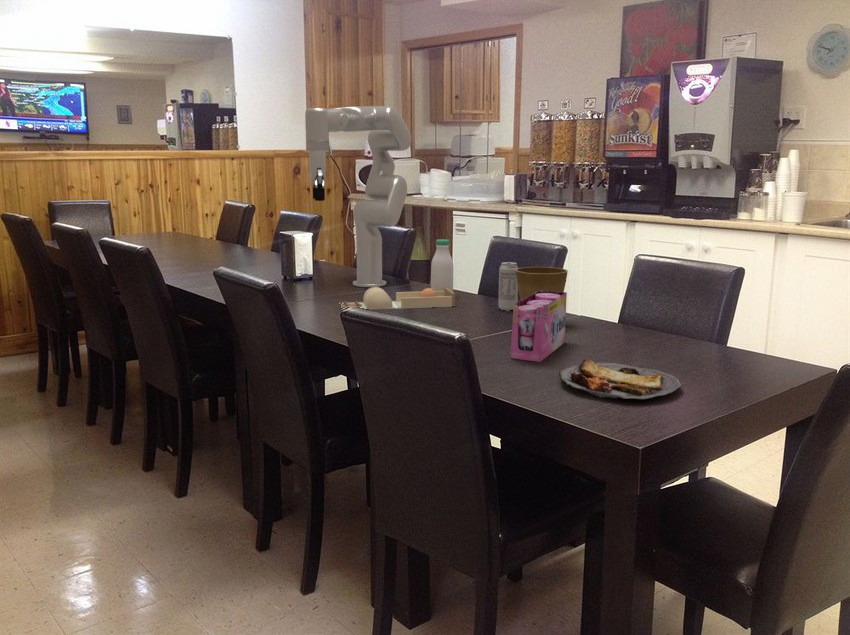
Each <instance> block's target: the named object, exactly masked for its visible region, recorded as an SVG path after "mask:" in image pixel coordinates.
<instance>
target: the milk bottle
mask: <svg viewBox="0 0 850 635" xmlns="http://www.w3.org/2000/svg"><path fill="white" fill-rule="evenodd" d="M435 247H436V248H435V252H434V255H433V257H432V259H431V264H430V265H431V266H430V288H431V289H433V290H434V291H444V288H448V289H450V290H451V291H452V292H454V262H453V258H452V256H451V254H450V250H449V247H450V240H449V239H444V238H443V239H442V238H441V239H440V238H439V239H435Z"/></svg>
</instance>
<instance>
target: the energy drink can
mask: <svg viewBox="0 0 850 635" xmlns="http://www.w3.org/2000/svg"><path fill="white" fill-rule="evenodd" d="M517 264H518V263H517V262H515V261H514V262H512V261H505V262H501V264H500V266H499V270H498V272H499V274H498V277H499V278H498V306H497V307H498V308H499V310H500V309H501V310H500V311H502V310H506V311H505V312H511V311H510V310H513V309H514V304H515V303H517V302H518V301H519V298H518V296H519V290H518V284H517V277H516V269H518V268H519V266H518V265H517Z"/></svg>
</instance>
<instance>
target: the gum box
mask: <svg viewBox="0 0 850 635" xmlns="http://www.w3.org/2000/svg"><path fill="white" fill-rule="evenodd" d="M567 295H568V292H565V291H564V292H556V291H543V290H539V291H537V292H535V293H533V294H532V295H530V296H528V297H526V298H524V299H522V300H518V302H517V303H515V304H514V309H513V311H512V328H511V343H510V345H511V346H510V359H515V360H521V361H530V362H538V363H541V362H542V361H543V360H545V359H546V358H547V357H549V355H552V353H553V352H555V351H556V350H558V348H560V347H561V346H562V345H563V344H565V342H566V320H567V318H566V315H567Z"/></svg>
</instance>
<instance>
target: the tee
mask: <svg viewBox="0 0 850 635" xmlns="http://www.w3.org/2000/svg"><path fill="white" fill-rule="evenodd" d="M354 302H355V303H352V302H347V301H345V300H344V301H343V303H344V304H341V307H345V308H347V307H361V306H362V304H359V303H358V302H359V301H358V300H354ZM341 307H340V308H341Z"/></svg>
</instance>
